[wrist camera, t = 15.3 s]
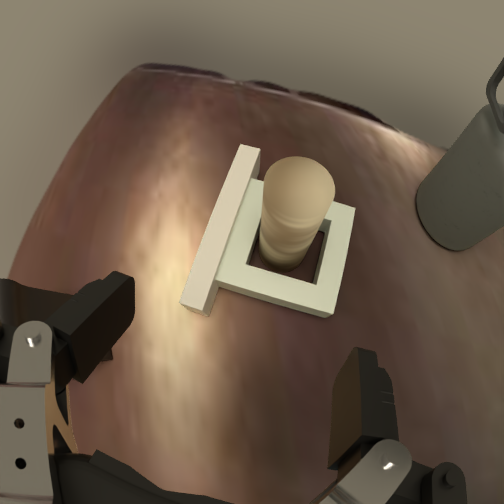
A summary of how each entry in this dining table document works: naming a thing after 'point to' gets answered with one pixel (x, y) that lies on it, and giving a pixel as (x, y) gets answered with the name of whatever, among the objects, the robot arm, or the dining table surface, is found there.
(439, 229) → the water bottle
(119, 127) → the dining table surface
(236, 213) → the backstop wall
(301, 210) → the dowel
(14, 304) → the phone stand
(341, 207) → the pale green square frame
